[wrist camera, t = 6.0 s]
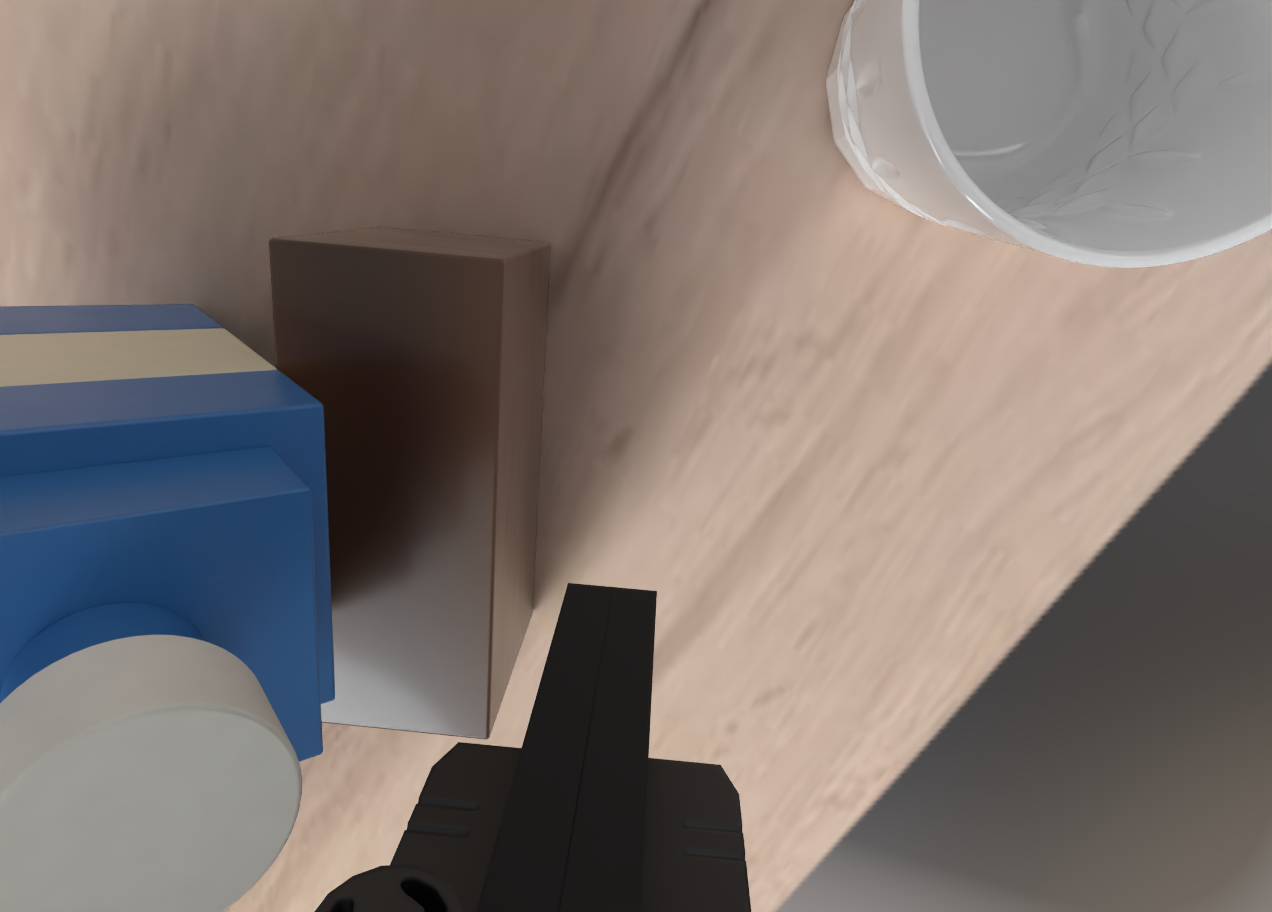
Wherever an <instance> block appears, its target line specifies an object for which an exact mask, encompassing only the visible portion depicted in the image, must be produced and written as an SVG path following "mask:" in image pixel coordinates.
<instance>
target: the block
mask: <svg viewBox="0 0 1272 912" xmlns="http://www.w3.org/2000/svg"><path fill="white" fill-rule="evenodd" d="M269 251H270V268H271V285H272V302H273V320H274V337H275V354H276V368H277V369H278V370H279V371H281V372H282V373H283V374H285V375H286V376H287V377H288V378H290V379H291V380H292V381H294V382H295V383H296V384H298V385H299V386H300V387H301V388H303V389H304V390H305V391H307V392H308V393H309V394H311V395H312V396H313V397H314V398H316V399H317V400H318V401H320V402H321V403H322V404H323V406H324V425H325V450H326V475H327V501H328V526H329V551H330V576H331V601H332V626H333V651H334V677H335V699H334V700H333V701H330V702H327V703H323V704H321V720H322V722H324V723H333V724H343V725H353V726H362V727H372V728H382V729H391V730H401V731H411V732H420V733H430V734H440V735H449V736H459V737H469V738H478V739H488V738H489V736H490V734H491V731H492V728H493V725H494V722H495V719H496V717H497V714H498V711H499V708H500V705H501V702H502V699H503V696H504V694H505V691H506V688H507V685H508V682H509V679H510V676H511V673H512V671H513V668H514V665H515V662H516V659H517V656H518V653H519V650H520V648H521V645H522V642H523V639H524V636H525V633H526V630H527V627H528V625H529V622H530V619H531V616H532V612H533V592H534V571H535V551H536V530H537V510H538V489H539V469H540V448H541V428H542V407H543V387H544V366H545V346H546V326H547V305H548V285H549V264H550V243H548V242H541V241H530V240H519V239H507V238H496V237H485V236H474V235H463V234H452V233H441V232H430V231H419V230H407V229H396V228H385V227H375V228H365V229H356V230H346V231H336V232H327V233H317V234H307V235H298V236H288V237H278V238H272V239H270V240H269Z"/></svg>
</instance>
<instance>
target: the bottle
mask: <svg viewBox="0 0 1272 912" xmlns="http://www.w3.org/2000/svg"><path fill="white" fill-rule="evenodd" d="M334 699H335V677H334V651H333V626H332V601H331V576H330V551H329V526H328V501H327V475H326V450H325V425H324V406H323V404H322V403H321V402H320V401H318V400H317V399H316V398H314V397H313V396H312V395H311V394H309V393H308V392H307V391H305V390H304V389H303V388H301V387H300V386H299V385H298V384H296V383H295V382H294V381H292V380H291V379H290V378H288V377H287V376H286V375H285V374H283V373H282V372H281V371H279V370H278V369H277V368H275V367H274V366H273V365H271V364H270V363H269V362H268V361H266V360H265V359H264V358H262V357H261V356H260V355H258V354H257V353H256V352H255V351H253V350H252V349H251V348H249V347H248V346H247V345H245V344H244V343H243V342H242V341H240V340H239V339H238V338H236V337H235V336H234V335H232V334H231V333H230V332H229V331H227V330H226V329H224V328H223V327H222V326H221V325H220V324H218V323H217V322H216V321H214V320H213V319H212V318H210V317H209V316H208V315H207V314H205V313H204V312H203V311H201V310H200V309H199V308H197V307H196V306H195V305H193V304H165V305H88V306H12V307H0V912H224V911H225V910H226V909H228V908H229V907H230V906H231V905H233V904H234V903H235V902H236V901H238V900H239V899H240V898H241V897H242V896H243V895H244V894H245V893H246V892H247V891H248V890H249V889H250V888H252V887H253V886H254V885H255V883H256V882H257V881H258V880H259V879H260V878H261V877H262V876H263V874H264V873H265V872H266V871H267V870H268V868H269V867H270V866H271V864H272V863H273V862H274V860H275V859H276V858H277V856H278V855H279V853H280V851H281V850H282V848H283V846H284V845H285V843H286V841H287V839H288V837H289V835H290V833H291V831H292V829H293V826H294V823H295V820H296V817H297V814H298V811H299V806H300V800H301V794H302V775H301V768H300V764H299V761H302V760H305V759H308V758H311V757H314V756H317V755H320V754H321V753H322V752H323V742H322V720H321V704H323V703H327V702H330V701H333V700H334Z"/></svg>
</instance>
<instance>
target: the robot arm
mask: <svg viewBox="0 0 1272 912" xmlns="http://www.w3.org/2000/svg"><path fill="white" fill-rule="evenodd" d="M656 596H657V591H648V590H637V589H627V588H616V587H605V586H594V585H583V584H572V583H568V586H567V589H566V593H565V596H564V600H563V603H562V607H561V611H560V614H559V618H558V621H557V625H556V628H555V632H554V635H553V639H552V643H551V646H550V650H549V653H548V657H547V660H546V664H545V667H544V671H543V675H542V678H541V682H540V685H539V689H538V692H537V696H536V699H535V703H534V707H533V710H532V714H531V717H530V721H529V724H528V728H527V731H526V735H525V739H524V742H523V746H522V748H512V747H502V746H491V745H481V744H471V743H460V742H458V743H457V744H456V745H455V746H454V747H453V748H452V749H451V750H450V751H449V752H448V753H447V754H446V755H444V756H443V757H442V758H441V759H440V760H439V761H438V762H437V763H436V764H435V765H434V766H433V767H432V768H431V771H430V773H429V775H428V778H427V780H426V782H425V785H424V787H423V789H422V792H421V794H420V796H419V801H418V804H416V806H415V808H414V810H413V813H412V815H411V817H410V820H409V822H408V827H407V830H405V831H404V834H403V836H402V838H401V841H400V843H399V845H398V848H397V850H396V852H395V855H394V857H393V859H392V862H391V864H390V866H380V867H377V868H374V869H371V870H369V871H366V872H363V873H360V874H357V875H355V876H352V877H351V878H350V879H348V880H347V881H345V882H344V883H343V884H341V885H340V886H338V887H337V888H336V889H334V890H333V891H331V892H330V893H329V894H328V895H327V896H326V897H325V899H324V900H323V901H322V903H321V904H320V905H319V907H318V908H317V909H316V911H315V912H751V905H750V896H749V886H748V876H747V867H746V861H745V848H744V838H743V833H742V819H741V809H740V800H739V793H738V792H737V790H736V789H735V787H734V786H733V784H732V782H731V781H730V779H729V778H728V776H727V774H726V773H725V771H724V770H723V768H722V767H721V765H715V764H705V763H695V762H684V761H674V760H663V759H653V758H648V753H649V733H650V713H651V694H652V674H653V654H654V635H655V615H656Z"/></svg>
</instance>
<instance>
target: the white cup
mask: <svg viewBox="0 0 1272 912" xmlns="http://www.w3.org/2000/svg"><path fill="white" fill-rule="evenodd" d="M826 88H827V96H828V103H829V110H830V117H831V124H832V132H833V139H834V142H835V144H836V145H837V147H838V148H839V150H840V151H841V153H842V154H843V156H844V157H845V159H846V160H847V162H848V163H849V165H850V166H851V168H852V169H853V170H854V172H855V173H856V175H857V176H858V178H859V179H860V181H861V182H862V184H863V185H864V187H865V188H866V189H868V190H870V191H872V192H874V193H876V194H878V195H880V196H881V197H883V198H885V199H887V200H889V201H891V202H893V203H895V204H896V205H898V206H900V207H902V208H904V209H906V210H908V211H910V212H911V213H914V214H916V215H918V216H920V217H923V218H925V219H928V220H930V221H933V222H936V223H939V224H942V225H945V226H948V227H951V228H954V229H957V230H959V231H962V232H965V233H968V234H972V235H975V236H979V237H983V238H987V239H991V240H995V241H999V242H1002V243H1006V244H1010V245H1014V246H1018V247H1021V248H1025V249H1029V250H1032V251H1036V252H1040V253H1043V254H1047V255H1051V256H1054V257H1058V258H1061V259H1065V260H1069V261H1073V262H1077V263H1082V264H1088V265H1094V266H1103V267H1115V268H1142V267H1155V266H1163V265H1170V264H1176V263H1181V262H1186V261H1191V260H1195V259H1199V258H1202V257H1206V256H1209V255H1212V254H1216V253H1219V252H1222V251H1224V250H1227V249H1230V248H1232V247H1235V246H1237V245H1240V244H1242V243H1245V242H1247V241H1249V240H1251V239H1254V238H1256V237H1258V236H1260V235H1262V234H1264V233H1266V232H1268V231H1270V230H1272V0H854V3H853V5H852V6H851V7H850V9H849V10H848V12H847V13H846V14H845V16H844V18H843V21H842V24H841V28H840V31H839V35H838V38H837V42H836V45H835V49H834V53H833V56H832V60H831V63H830V67H829V70H828V74H827V77H826Z"/></svg>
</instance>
